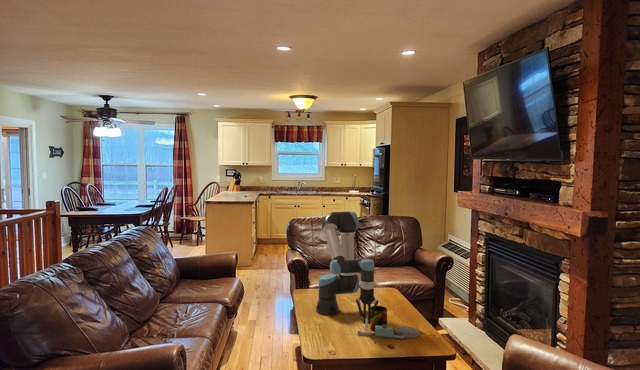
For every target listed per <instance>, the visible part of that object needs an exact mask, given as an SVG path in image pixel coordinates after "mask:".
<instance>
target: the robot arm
mask: <svg viewBox="0 0 640 370" xmlns="http://www.w3.org/2000/svg"><path fill="white" fill-rule="evenodd" d="M359 227H360V221H359V217H358V214H357V213H356V212H355V211H331V212H330V213H328V214H327V215H326V216H325V217H324V218H323V219H322V223H321V229H322V233H323V234H324V235H325V238H326V243H327V246H328V250H329V254H330V257H331V261H330V262H329V272H330V273H326V274H323V275H321V276H320V277H318V282H317V283H318V299H317V303H316V306H315V311H316V313H317V314H320V315H323V316H325V315H327V316H331V315H335V314H338V313H339V312H340V306H339V303H338V299H337V295H347V294H348V295H352V294H357V292H358V291H359V292H360V293H359V297H357V298H356V299H355V303H356V304H357V308H358V313H359V317H360V318H362V319H363V324H364V330H365V331H369V325H370V318H373V317H374V313H375V309H376V306H378V304H379V301H380V300H378V299H376V297H375V261H374V260H373V259H371V258H370V259H368V258H367V259H366V258H362V257H356V258H355V246H354V245H355V243H354V242H355V239H354V238H355V237H354V235H355V233H357V230H358V229H359ZM338 233H339V234H340V237H339V234H338ZM358 274H360V275H358ZM337 275H338V276H337ZM361 303H362V304H363V305H361ZM373 303H374V305H373V306H374V308H373V312H372V315H371V307H372V306H371V305H372V304H373ZM362 307H363V309H362Z"/></svg>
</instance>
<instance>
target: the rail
mask: <svg viewBox="0 0 640 370" xmlns="http://www.w3.org/2000/svg"><path fill="white" fill-rule="evenodd" d="M357 336H362V337H370V338H371V337H373V338H374V337H375V338H380V339H392V340H401V341H405V340H406V338H405V335H403V336H397V335H396V334H394V336H393V337H387V336H377V335H375V332H364V331H360V330H357Z"/></svg>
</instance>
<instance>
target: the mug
mask: <svg viewBox="0 0 640 370" xmlns="http://www.w3.org/2000/svg"><path fill="white" fill-rule="evenodd" d="M373 308H374V305H373V306H371V315H372V312H373ZM369 325H370V326H369V327H370V328H369V329H370V331H372V333H375V325H379V326H382V325H386V326H388V308H387V307H386V306H383V305H377V306H376V309H375V313H374V317H373V318H370V324H369Z"/></svg>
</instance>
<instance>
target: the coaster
mask: <svg viewBox="0 0 640 370" xmlns="http://www.w3.org/2000/svg"><path fill="white" fill-rule="evenodd" d="M394 335H397V336H403V335H405V339H417V338H418V337H420V335H421V331H420V330H418V329H417V328H415V327H412V326H405V325H404V326H398V327H396V328H395V329H394Z"/></svg>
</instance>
